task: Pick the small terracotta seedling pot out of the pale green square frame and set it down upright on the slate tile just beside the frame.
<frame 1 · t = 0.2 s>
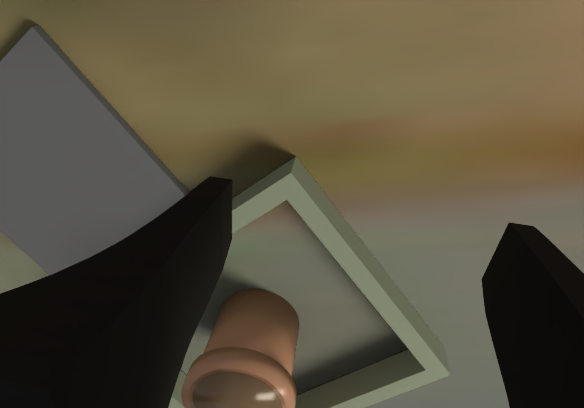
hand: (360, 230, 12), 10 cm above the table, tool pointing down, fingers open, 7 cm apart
slate tile: (58, 175, 25), on the table
pale green square frame: (259, 321, 28), on the table
seedling pot: (259, 321, 28), resting in pale green square frame
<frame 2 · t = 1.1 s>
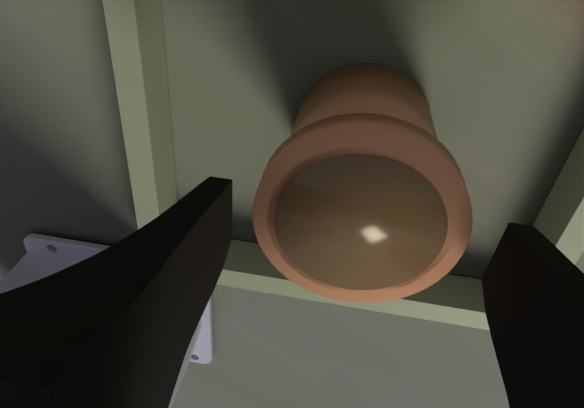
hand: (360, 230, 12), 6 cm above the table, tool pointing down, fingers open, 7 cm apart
pale green square frame: (362, 129, 17), on the table
seedling pot: (362, 129, 17), resting in pale green square frame
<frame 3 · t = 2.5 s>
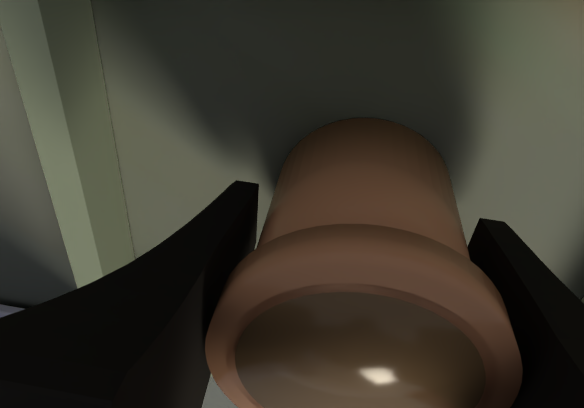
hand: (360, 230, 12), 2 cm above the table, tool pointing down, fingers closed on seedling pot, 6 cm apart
pale green square frame: (361, 196, 13), on the table
seedling pot: (361, 196, 13), resting in pale green square frame, touching gripper
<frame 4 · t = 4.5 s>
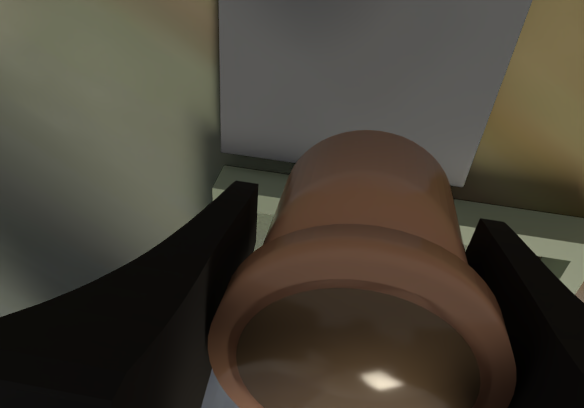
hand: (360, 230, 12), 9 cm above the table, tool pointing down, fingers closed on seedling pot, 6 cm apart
slate tile: (360, 42, 17), on the table
pale green square frame: (371, 299, 26), on the table
seedling pot: (365, 206, 14), point 7 cm above the table, touching gripper
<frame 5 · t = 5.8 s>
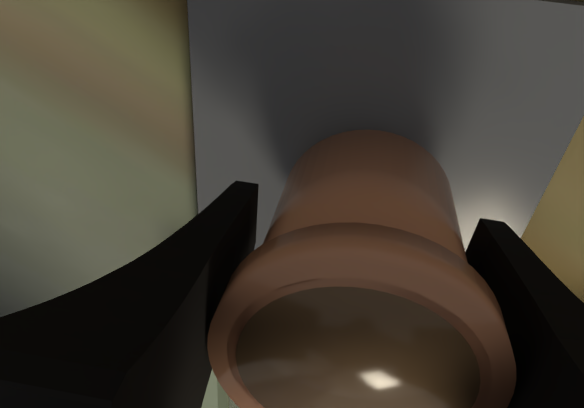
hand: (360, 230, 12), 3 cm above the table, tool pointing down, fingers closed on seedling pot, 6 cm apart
slate tile: (363, 164, 15), on the table
seedling pot: (365, 206, 14), point 2 cm above the table, touching gripper
when the fingers open (3 cm above the table, at t = 6.7 s): seedling pot drops 1 cm, resting on slate tile.
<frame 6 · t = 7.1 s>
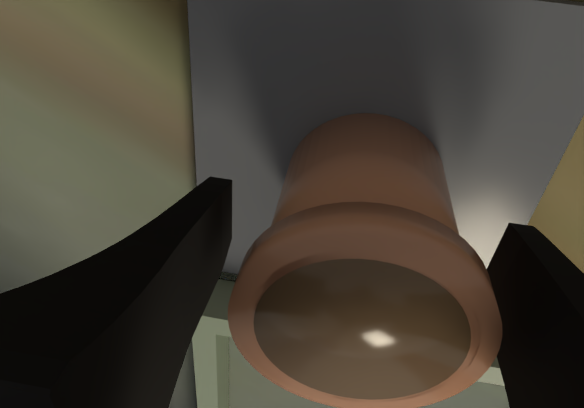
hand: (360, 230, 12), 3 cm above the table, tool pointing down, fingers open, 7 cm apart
slate tile: (363, 164, 15), on the table
seedling pot: (363, 184, 15), point 1 cm above the table, touching slate tile
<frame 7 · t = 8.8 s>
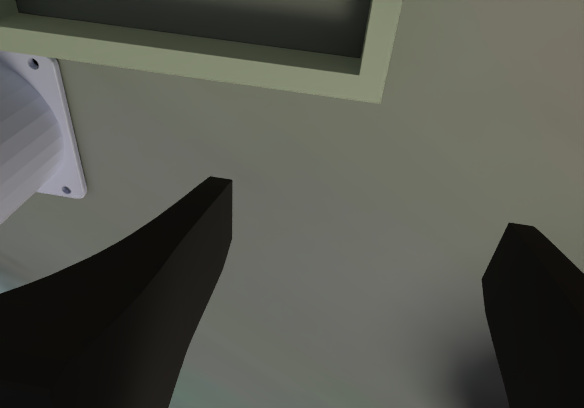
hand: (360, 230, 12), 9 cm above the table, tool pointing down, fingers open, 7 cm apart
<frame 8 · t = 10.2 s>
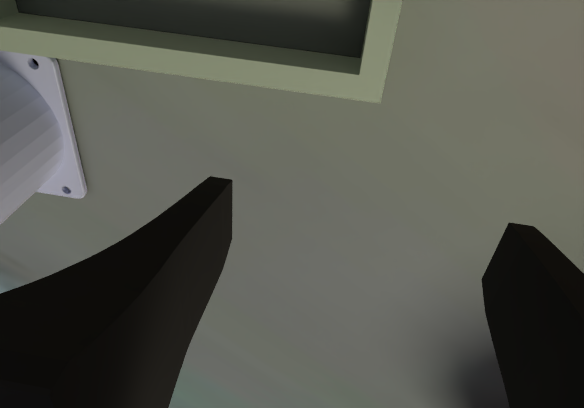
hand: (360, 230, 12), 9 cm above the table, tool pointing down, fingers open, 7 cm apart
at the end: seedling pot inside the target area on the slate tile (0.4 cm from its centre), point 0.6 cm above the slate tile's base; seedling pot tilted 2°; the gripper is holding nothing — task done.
